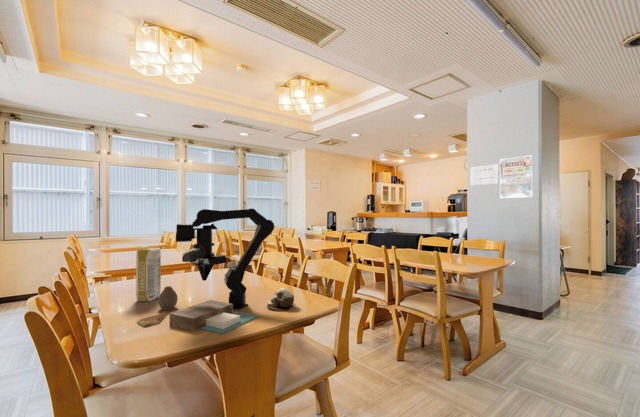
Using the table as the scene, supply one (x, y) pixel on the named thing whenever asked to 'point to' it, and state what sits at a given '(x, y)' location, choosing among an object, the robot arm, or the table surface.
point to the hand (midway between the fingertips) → (204, 280)
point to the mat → (243, 319)
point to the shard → (151, 319)
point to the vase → (168, 298)
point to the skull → (282, 300)
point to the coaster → (222, 320)
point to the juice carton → (148, 273)
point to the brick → (199, 314)
